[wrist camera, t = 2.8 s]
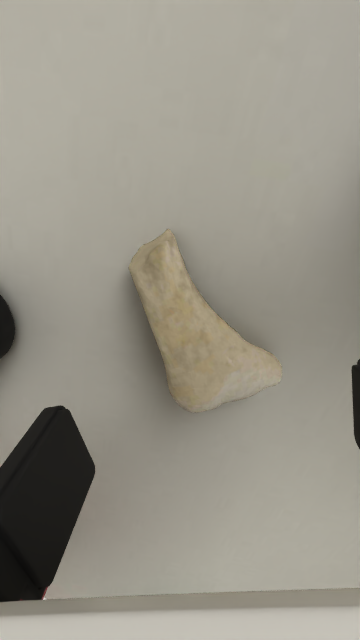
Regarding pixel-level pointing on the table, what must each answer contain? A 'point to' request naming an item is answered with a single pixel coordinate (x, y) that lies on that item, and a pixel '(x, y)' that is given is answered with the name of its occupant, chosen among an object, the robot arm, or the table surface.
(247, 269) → the table surface
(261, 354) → the bone
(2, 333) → the beverage can
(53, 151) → the table surface
